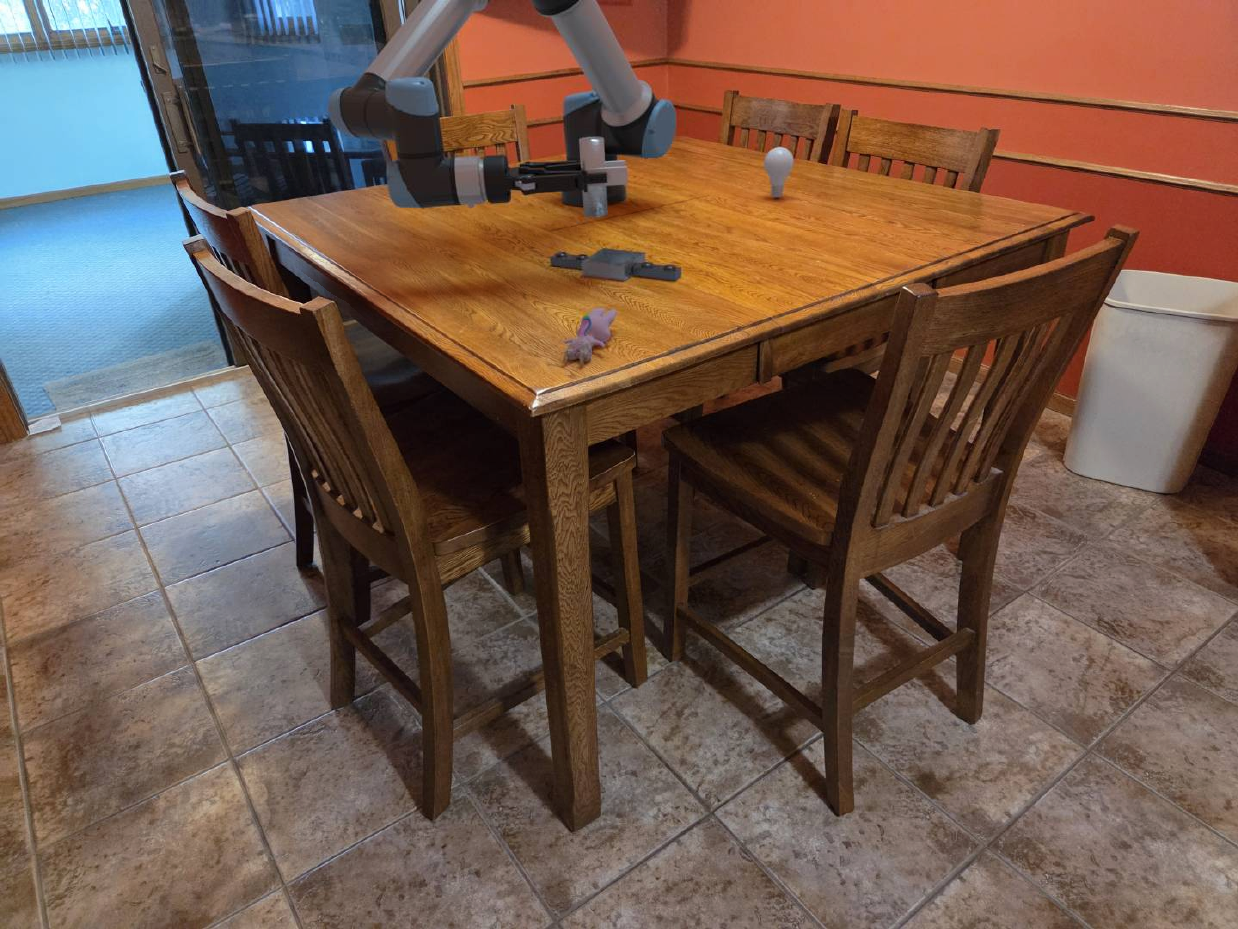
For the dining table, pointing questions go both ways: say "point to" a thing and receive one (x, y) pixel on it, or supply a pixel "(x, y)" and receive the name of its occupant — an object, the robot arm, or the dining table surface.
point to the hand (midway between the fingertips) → (626, 172)
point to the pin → (593, 158)
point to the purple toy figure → (590, 335)
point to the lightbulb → (778, 169)
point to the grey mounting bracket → (616, 265)
